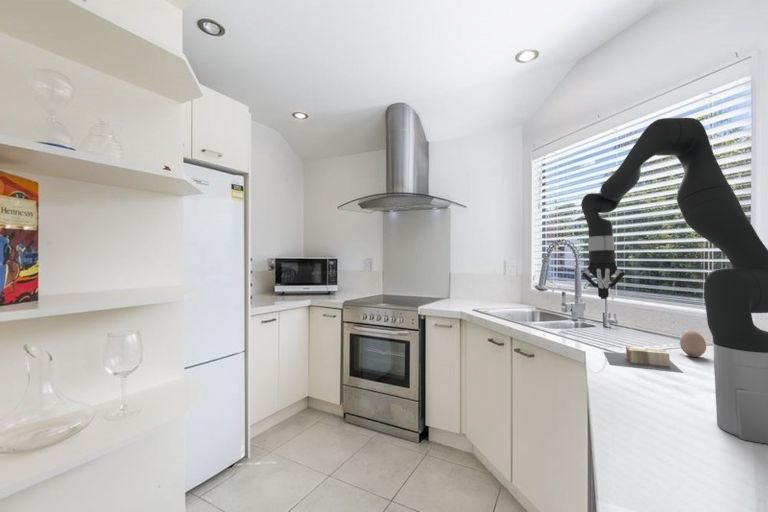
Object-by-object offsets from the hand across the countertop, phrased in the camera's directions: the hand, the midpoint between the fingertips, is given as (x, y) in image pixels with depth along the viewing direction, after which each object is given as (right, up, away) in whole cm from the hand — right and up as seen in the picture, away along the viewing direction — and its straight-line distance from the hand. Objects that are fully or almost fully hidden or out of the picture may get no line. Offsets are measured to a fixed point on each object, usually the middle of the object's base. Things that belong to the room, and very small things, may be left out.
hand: (603, 298), depth 110 cm
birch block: (+6, -18, -3) cm, 20 cm away
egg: (+32, -21, +1) cm, 38 cm away
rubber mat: (+9, -21, -5) cm, 23 cm away
